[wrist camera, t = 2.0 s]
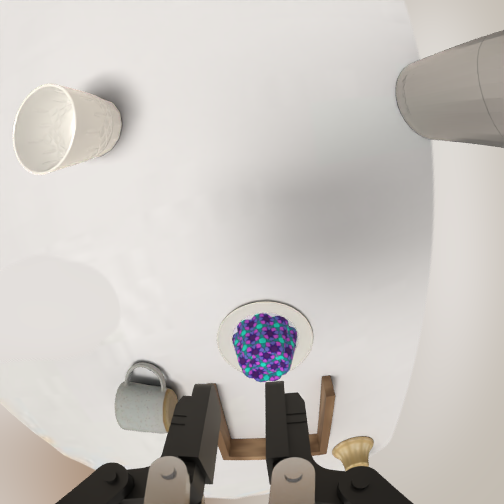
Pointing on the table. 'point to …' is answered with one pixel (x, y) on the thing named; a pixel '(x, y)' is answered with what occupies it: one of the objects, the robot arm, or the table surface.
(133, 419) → the ceramic mug
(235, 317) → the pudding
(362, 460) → the hand bell
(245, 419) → the table surface
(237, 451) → the corral
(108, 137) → the white cup
